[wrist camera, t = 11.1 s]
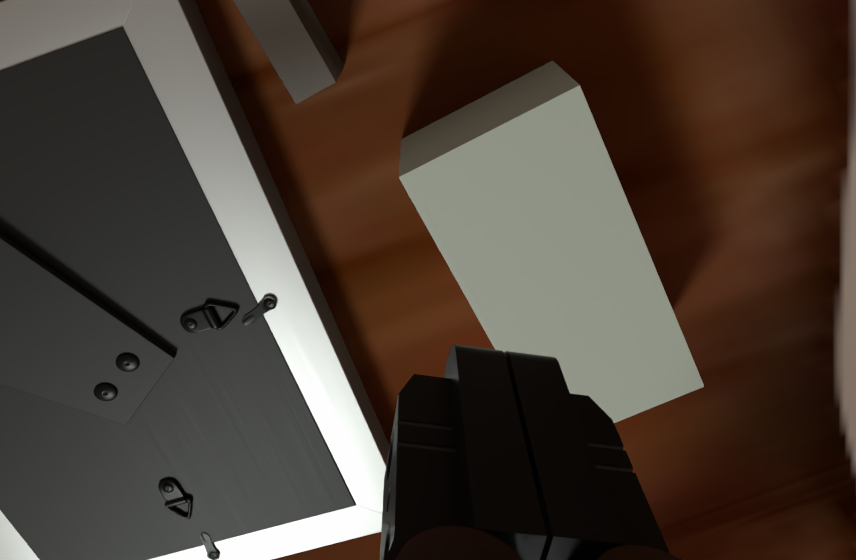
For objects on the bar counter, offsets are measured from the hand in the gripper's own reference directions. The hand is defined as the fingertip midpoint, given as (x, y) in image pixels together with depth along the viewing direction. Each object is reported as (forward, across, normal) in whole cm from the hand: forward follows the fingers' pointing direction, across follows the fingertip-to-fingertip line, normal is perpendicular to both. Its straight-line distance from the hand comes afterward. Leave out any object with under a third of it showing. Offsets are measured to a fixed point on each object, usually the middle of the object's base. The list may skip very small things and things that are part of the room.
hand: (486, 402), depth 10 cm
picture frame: (+14, +11, +8) cm, 19 cm away
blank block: (+13, -4, +2) cm, 14 cm away
